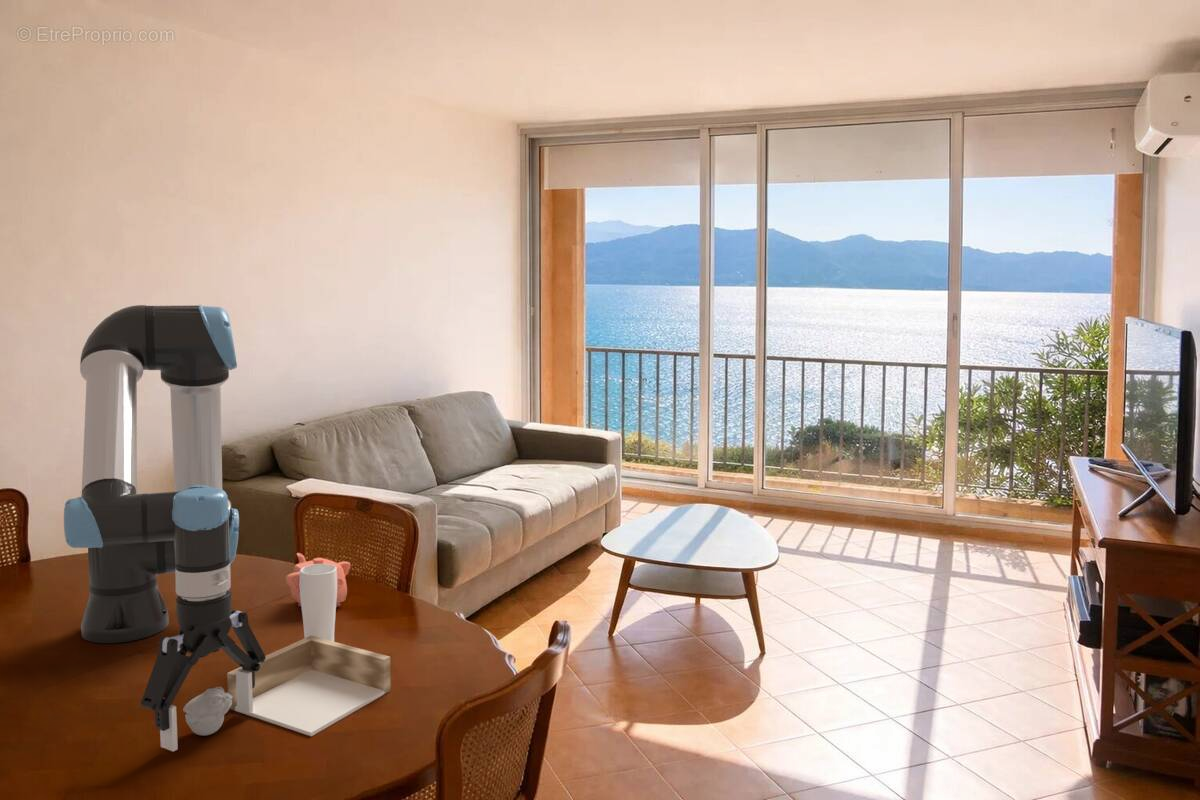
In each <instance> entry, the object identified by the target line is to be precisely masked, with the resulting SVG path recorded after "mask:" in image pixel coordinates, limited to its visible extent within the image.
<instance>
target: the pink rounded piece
mask: <svg viewBox="0 0 1200 800" xmlns="http://www.w3.org/2000/svg"><path fill="white" fill-rule="evenodd" d="M296 557H297V558H298V563H297V564H295V565H294V568H293V572H291V573H289V574H287V575H286V577H285V582H286V584H287V586H288V587H289V588H290V594H291V597H292V600H294V601H295V602H297V606H298V607H301V599H300V584H299V580H300V569H301V568H303V567H305V566H308V565H313V564H331V565H334V566H336V568H337V601H336V608H338V607H341V602H345V600H346V598H347V596H348V595H347V594H348V587H347V586H348V585H347V580H346V576H348V575H347V574H349V571H350V569H351V563H350V562H349V561H340V562H336V561H333V560H331V559H329V558H323V557H315V558H313V559H312V560H307V561H306V558H305V555H303V554H302V553H300V552H297V553H296Z"/></svg>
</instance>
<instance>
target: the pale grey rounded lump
mask: <svg viewBox="0 0 1200 800" xmlns="http://www.w3.org/2000/svg"><path fill="white" fill-rule="evenodd" d="M232 697H233V696H232V695H230V694H229V693H228V691H227V692H225V689H224V688H223V686H216V687H212V688H208V689H206V690H205V691H204V692H203V693H201V694H198V695H197V696H195V697H193V698H192V699H191V700H189V701H187V703H186V704H185V705H184V706H183V708H182V709H183V712H184V713H186V714H185V722H186V724H187V725H188V726H189V728H190V730H191V731H192V732H193V733H194V734H196V735H198V736H204V737H205V736H210V735H212V734H214V733H216V732H218V731H219V729H220V728H221V727H222V725H223V723H224V720H225V715H226V714H227V713H228V712H229V710H230V709H229V708H230V707H231V705H232V700H231V699H232Z"/></svg>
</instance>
